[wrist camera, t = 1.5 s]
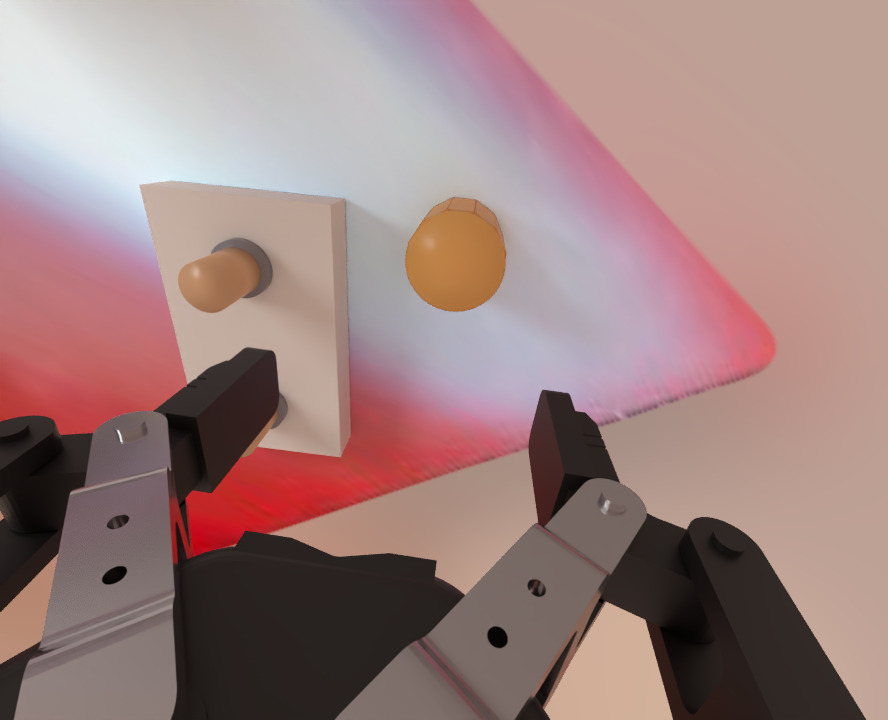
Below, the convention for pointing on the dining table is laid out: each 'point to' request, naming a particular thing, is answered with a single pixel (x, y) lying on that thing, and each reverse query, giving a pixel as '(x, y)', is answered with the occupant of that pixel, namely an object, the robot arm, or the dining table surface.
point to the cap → (456, 255)
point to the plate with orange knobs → (261, 297)
